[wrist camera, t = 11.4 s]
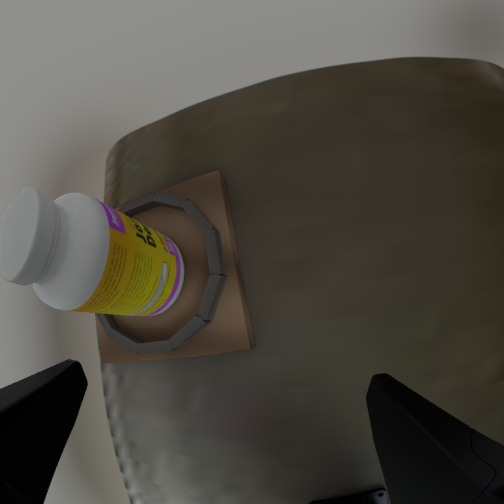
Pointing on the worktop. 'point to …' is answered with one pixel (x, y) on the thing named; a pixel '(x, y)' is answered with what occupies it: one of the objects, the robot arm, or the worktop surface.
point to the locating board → (187, 280)
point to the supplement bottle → (88, 256)
